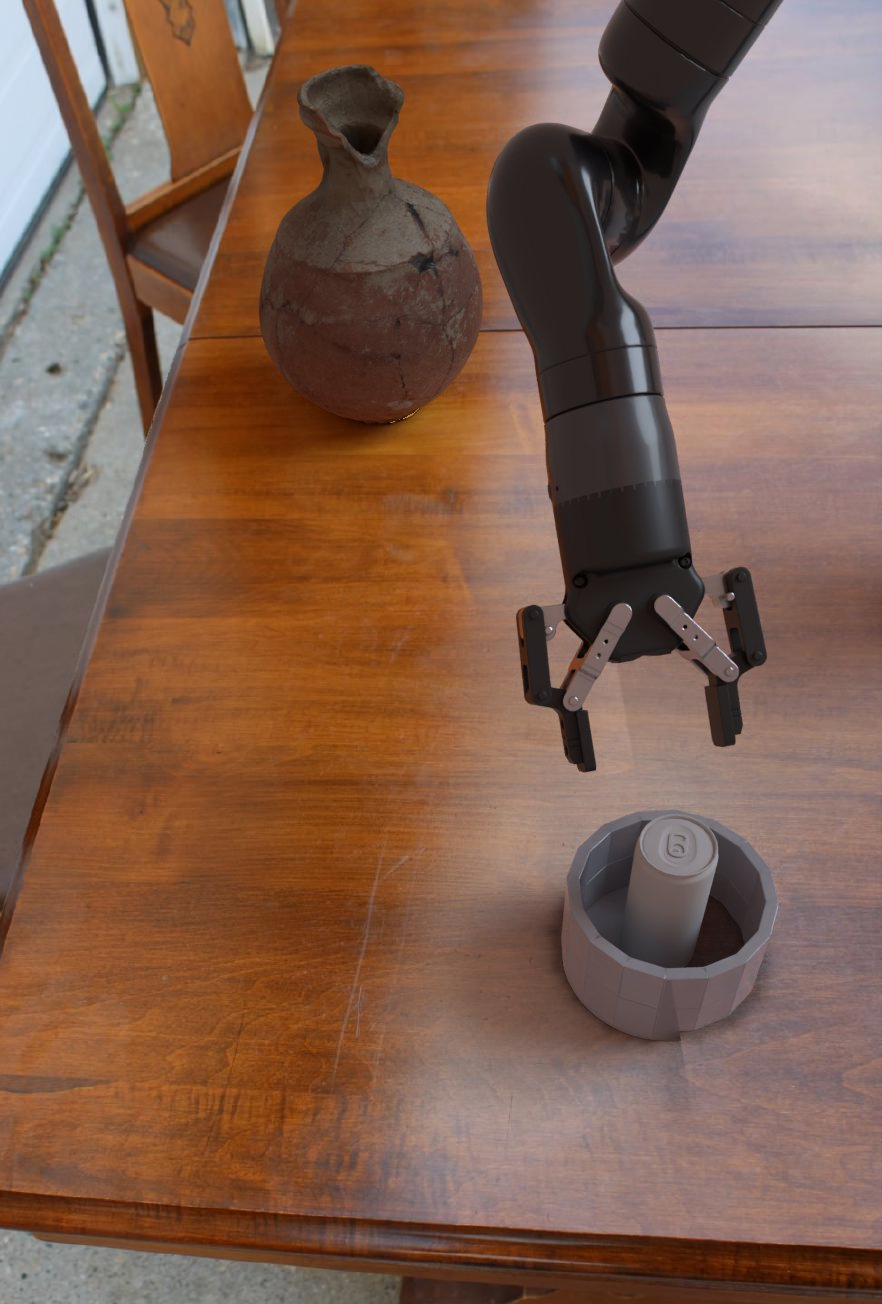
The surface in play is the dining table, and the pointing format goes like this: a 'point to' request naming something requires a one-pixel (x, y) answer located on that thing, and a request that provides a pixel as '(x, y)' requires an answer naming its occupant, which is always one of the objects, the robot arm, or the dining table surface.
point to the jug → (367, 267)
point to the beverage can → (668, 890)
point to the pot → (640, 989)
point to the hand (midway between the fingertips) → (656, 758)
